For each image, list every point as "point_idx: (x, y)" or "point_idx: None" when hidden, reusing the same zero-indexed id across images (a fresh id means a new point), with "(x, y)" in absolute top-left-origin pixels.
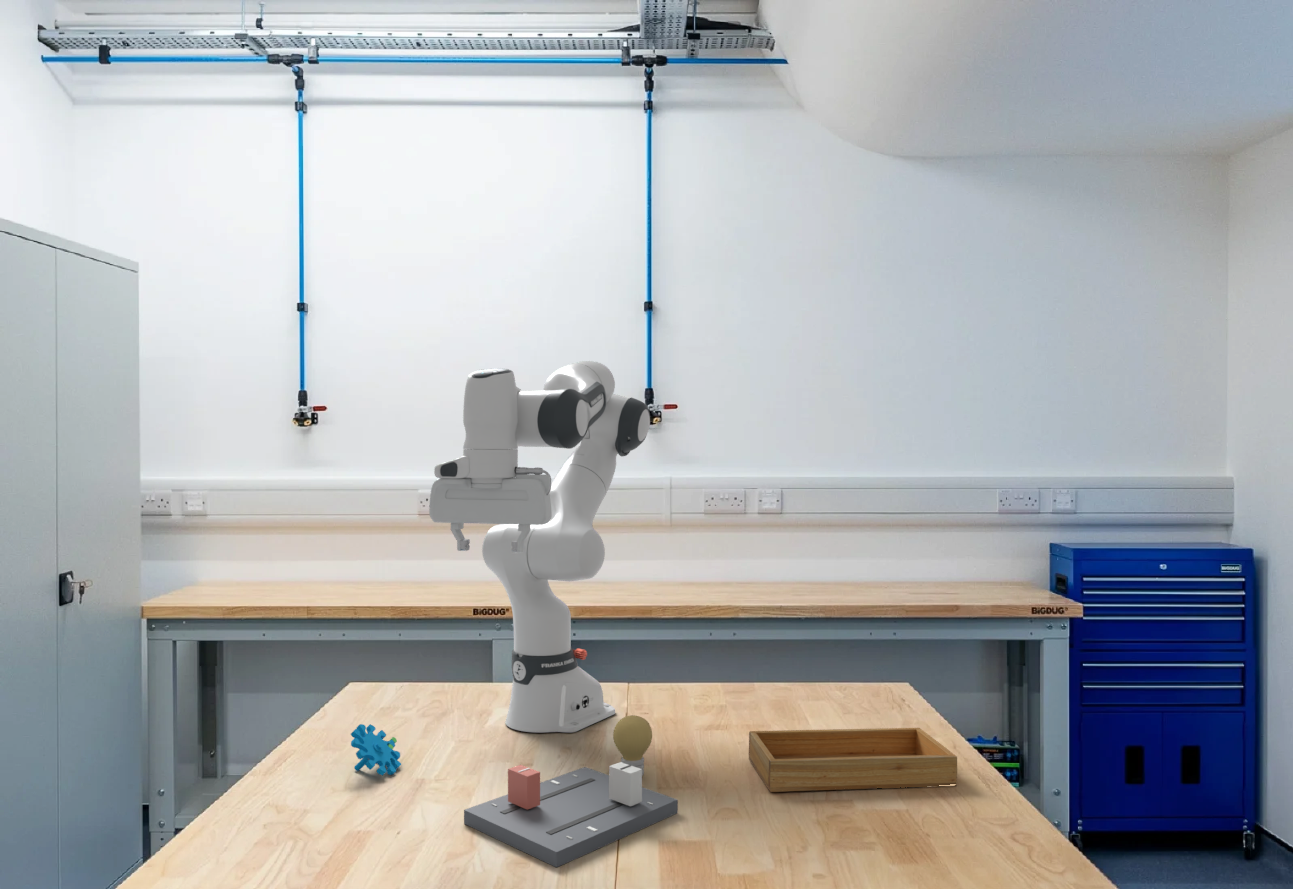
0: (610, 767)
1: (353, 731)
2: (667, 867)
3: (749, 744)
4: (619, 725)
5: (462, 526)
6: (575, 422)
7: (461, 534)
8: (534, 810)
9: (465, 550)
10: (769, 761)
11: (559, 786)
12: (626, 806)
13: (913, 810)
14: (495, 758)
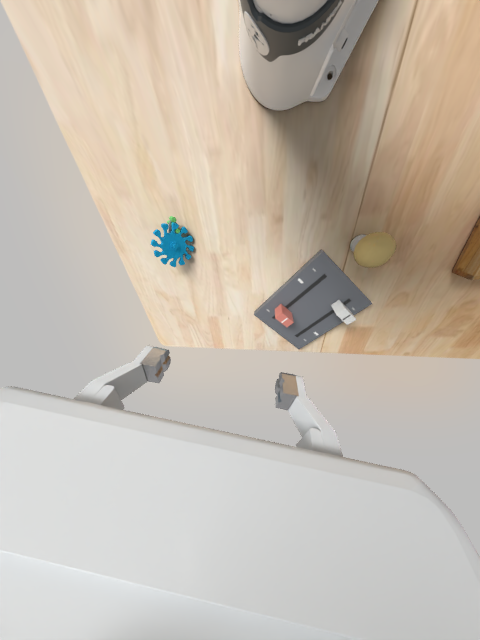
0: (337, 315)
1: (156, 256)
2: (343, 346)
3: None
4: (363, 261)
5: (112, 398)
6: None
7: (129, 379)
8: None
9: (169, 361)
10: (472, 276)
11: (302, 286)
12: None
13: None
14: (252, 206)
